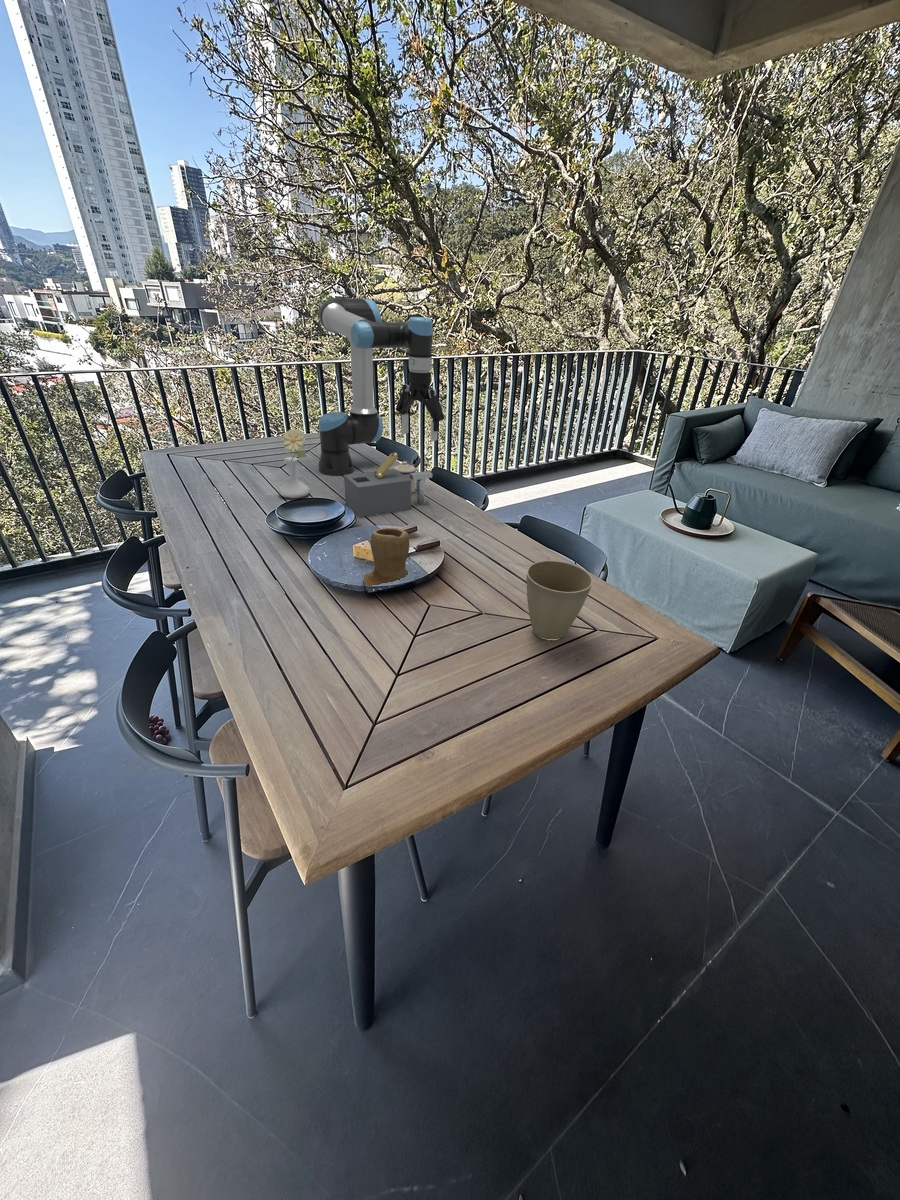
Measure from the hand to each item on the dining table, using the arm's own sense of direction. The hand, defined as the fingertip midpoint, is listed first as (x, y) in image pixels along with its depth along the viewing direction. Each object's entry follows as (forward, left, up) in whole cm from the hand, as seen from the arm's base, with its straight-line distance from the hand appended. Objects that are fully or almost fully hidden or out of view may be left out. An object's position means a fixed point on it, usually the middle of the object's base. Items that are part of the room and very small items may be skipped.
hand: (419, 437), depth 175 cm
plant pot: (+87, -9, -25) cm, 91 cm away
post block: (-4, -15, -25) cm, 29 cm away
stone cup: (+49, -34, -25) cm, 65 cm away
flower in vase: (-26, -39, -25) cm, 53 cm away
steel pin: (-1, +1, -25) cm, 25 cm away
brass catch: (-4, -10, -10) cm, 15 cm away
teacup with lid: (-16, 0, -25) cm, 30 cm away
